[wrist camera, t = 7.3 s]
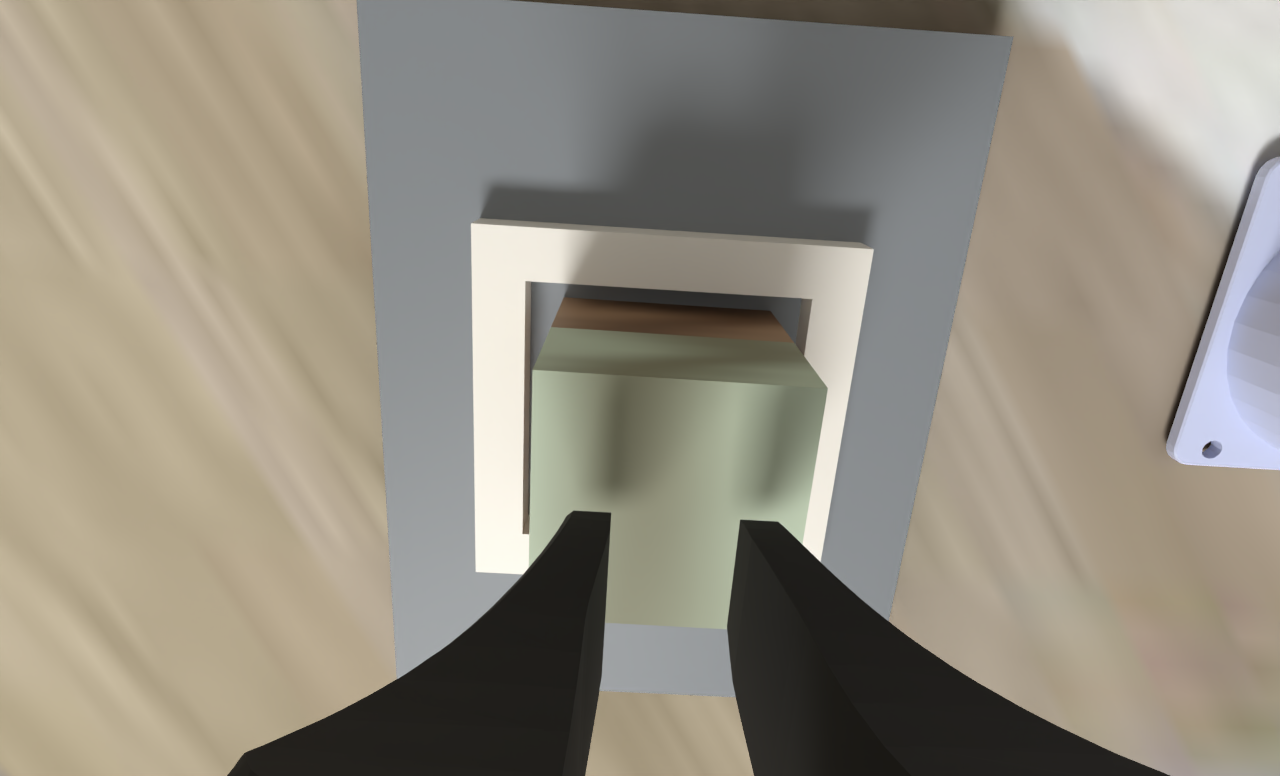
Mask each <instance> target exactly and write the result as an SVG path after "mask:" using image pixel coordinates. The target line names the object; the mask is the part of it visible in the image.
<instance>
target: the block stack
mask: <svg viewBox="0 0 1280 776" xmlns="http://www.w3.org/2000/svg"><path fill="white" fill-rule="evenodd" d="M827 391H828V388H827V386H826V385H825V384H824V382H823V381H822V380H821V378H820V377H819V376H818V374H817V373H816V372H815V370H814V369H813V368H812V366H811V365H810V363H809V362H808V361H807V359H806V358H805V357H804V355H803V354H802V353H801V351H800V350H799V349H798V347H797V346H796V345H795V343H794V342H793V341H792V339H791V338H790V336H789V335H788V334H787V332H786V331H785V330H784V328H783V327H782V326H781V324H780V323H779V322H778V320H777V319H776V318H775V316H774V315H773V314H772V312H771V311H766V310H751V309H735V308H720V307H705V306H690V305H674V304H659V303H644V302H629V301H614V300H598V299H583V298H568V297H564V298H563V300H562V303H561V305H560V307H559V310H558V312H557V314H556V316H555V319H554V321H553V323H552V326H551V328H550V330H549V333H548V335H547V337H546V340H545V342H544V344H543V347H542V349H541V351H540V354H539V356H538V358H537V361H536V363H535V365H534V368H533V371H532V423H531V474H530V525H529V567H530V566H531V564H532V563H533V562H534V561H535V560H536V558H537V557H538V556H539V555H540V554H541V552H542V551H543V550H544V549H545V547H546V546H547V544H548V543H549V542H550V540H551V539H552V538H553V536H554V535H555V534H556V532H557V531H558V529H559V528H560V526H561V524H562V523H563V521H564V519H565V517H566V516H567V515H568V514H570V513H571V512H572V511H573V510H574V511H592V512H611V527H610V545H609V562H608V579H607V597H606V614H605V623H618V624H637V625H656V626H674V627H693V628H712V629H727V621H728V613H729V605H730V597H731V589H732V581H733V573H734V565H735V557H736V549H737V541H738V533H739V525H740V520H759V521H777V522H779V523H780V524H781V525H783V526H784V527H785V528H786V529H787V530H788V531H789V532H790V533H791V534H792V535H793V536H794V537H795V538H796V539H797V540H798V541H799V542H800V543H801V544H803V538H804V532H805V525H806V519H807V513H808V507H809V501H810V495H811V489H812V483H813V477H814V471H815V464H816V458H817V452H818V446H819V440H820V434H821V428H822V422H823V416H824V410H825V404H826V397H827Z"/></svg>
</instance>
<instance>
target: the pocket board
mask: <svg viewBox="0 0 1280 776" xmlns="http://www.w3.org/2000/svg"><path fill="white" fill-rule="evenodd" d="M357 14H358V31H359V47H360V64H361V81H362V98H363V115H364V132H365V149H366V166H367V183H368V200H369V217H370V233H371V250H372V267H373V284H374V301H375V318H376V335H377V352H378V369H379V386H380V403H381V419H382V436H383V453H384V470H385V487H386V504H387V521H388V538H389V555H390V572H391V589H392V605H393V622H394V639H395V656H396V673H397V679H398V678H400V677H402V676H403V675H405V674H406V673H408V672H409V671H411V670H412V669H414V668H415V667H417V666H418V665H420V664H421V663H423V662H424V661H425V660H427V659H428V658H430V657H431V656H433V655H434V654H436V653H437V652H439V651H440V650H441V649H443V648H444V647H446V646H447V645H448V644H450V643H451V642H452V641H453V640H455V639H456V638H457V637H458V636H459V635H461V634H462V633H463V632H464V631H466V630H467V629H468V628H469V627H470V626H471V625H473V624H474V623H475V622H476V621H477V620H478V619H479V618H481V617H482V616H483V615H484V614H485V613H486V612H487V611H488V610H489V609H490V608H491V607H492V606H493V605H494V604H495V603H496V602H497V601H498V600H499V599H500V598H501V597H502V596H503V595H504V594H505V593H506V592H507V591H508V590H509V589H510V588H511V587H512V586H513V585H514V584H515V583H516V582H517V581H518V580H519V578H520V577H521V576H522V575H523V574H524V573H525V572H526V570H527V569H528V568H529V525H530V474H531V423H532V371H533V368H534V365H535V363H536V361H537V358H538V356H539V354H540V351H541V349H542V347H543V344H544V342H545V340H546V337H547V335H548V333H549V330H550V328H551V326H552V323H553V321H554V319H555V316H556V314H557V312H558V310H559V307H560V305H561V303H562V300H563V298H564V297H568V298H583V299H598V300H614V301H629V302H644V303H659V304H674V305H690V306H705V307H720V308H735V309H751V310H766V311H771V312H772V314H773V315H774V316H775V318H776V319H777V320H778V322H779V323H780V324H781V326H782V327H783V328H784V330H785V331H786V332H787V334H788V335H789V336H790V338H791V339H792V341H793V342H794V343H795V345H796V346H797V347H798V349H799V350H800V351H801V353H802V354H803V355H804V357H805V358H806V359H807V361H808V362H809V363H810V365H811V366H812V368H813V369H814V370H815V372H816V373H817V374H818V376H819V377H820V378H821V380H822V381H823V382H824V384H825V385H826V386H827V388H828V391H827V397H826V404H825V410H824V416H823V422H822V428H821V434H820V440H819V446H818V452H817V458H816V464H815V471H814V477H813V483H812V489H811V495H810V501H809V507H808V513H807V519H806V525H805V532H804V538H803V544H802V545H803V546H804V547H806V548H807V549H808V550H809V551H810V552H811V553H812V554H813V555H814V556H815V557H816V558H817V559H818V560H819V561H820V562H821V563H822V564H823V565H824V566H825V567H826V568H827V569H828V570H829V571H831V572H832V573H833V574H834V575H835V576H836V577H837V578H838V579H839V580H840V581H841V582H842V583H844V584H845V585H846V586H847V587H848V588H849V589H850V590H851V591H852V592H854V593H855V594H856V595H857V596H858V597H859V598H861V599H862V600H863V601H864V602H865V603H866V604H868V605H869V606H870V607H871V608H873V609H874V610H875V611H876V612H877V613H879V614H880V615H881V616H882V617H884V618H885V619H886V620H887V621H889V617H890V612H891V607H892V603H893V598H894V593H895V589H896V584H897V579H898V574H899V570H900V565H901V560H902V556H903V551H904V546H905V542H906V537H907V532H908V528H909V523H910V518H911V514H912V509H913V504H914V500H915V495H916V490H917V486H918V481H919V476H920V472H921V467H922V462H923V458H924V453H925V448H926V443H927V439H928V434H929V429H930V425H931V420H932V415H933V411H934V406H935V401H936V397H937V392H938V387H939V383H940V378H941V373H942V369H943V364H944V359H945V355H946V350H947V345H948V341H949V336H950V331H951V326H952V322H953V317H954V312H955V308H956V303H957V298H958V294H959V289H960V284H961V280H962V275H963V270H964V266H965V261H966V256H967V252H968V247H969V242H970V238H971V233H972V228H973V224H974V219H975V214H976V209H977V205H978V200H979V195H980V191H981V186H982V181H983V177H984V172H985V167H986V163H987V158H988V153H989V149H990V144H991V139H992V135H993V130H994V125H995V121H996V116H997V111H998V107H999V102H1000V97H1001V92H1002V88H1003V83H1004V78H1005V74H1006V69H1007V64H1008V60H1009V55H1010V50H1011V46H1012V41H1013V37H1009V36H995V35H982V34H968V33H954V32H940V31H926V30H913V29H899V28H885V27H871V26H857V25H843V24H830V23H816V22H802V21H788V20H774V19H760V18H747V17H733V16H719V15H705V14H691V13H678V12H664V11H650V10H636V9H622V8H608V7H595V6H581V5H567V4H553V3H539V2H525V1H512V0H357ZM599 691H616V692H637V693H658V694H679V695H700V696H721V697H736V696H735V691H734V687H733V681H732V672H731V663H730V654H729V643H728V633H727V629H712V628H693V627H674V626H656V625H637V624H618V623H605V631H604V647H603V663H602V678H601V684H600V690H599Z"/></svg>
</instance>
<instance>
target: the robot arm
mask: <svg viewBox="0 0 1280 776" xmlns="http://www.w3.org/2000/svg"><path fill="white" fill-rule="evenodd" d="M1210 441H1211V445H1210V446H1209V448H1208V449H1207V450H1205V451H1204V452H1202V449H1203V447H1204V446H1205V444H1207V443H1208V442H1210ZM1166 450H1167V453H1168V455H1169V456H1171V457H1172V458H1173V459H1175V460H1176V461H1178V462H1179V463H1182V464H1186V465H1201V466H1218V467H1236V468H1254V469H1271V470H1280V157H1274V158H1273V159H1271V160H1269V161H1267V162H1266V163H1265V164H1264V165H1263V166H1262V167H1261V168H1260V169H1259V171H1258V173H1257V175H1256V177H1255V180H1254V183H1253V186H1252V189H1251V192H1250V195H1249V198H1248V201H1247V204H1246V207H1245V210H1244V213H1243V216H1242V219H1241V222H1240V225H1239V228H1238V231H1237V234H1236V237H1235V240H1234V243H1233V246H1232V249H1231V252H1230V255H1229V258H1228V261H1227V264H1226V267H1225V270H1224V273H1223V276H1222V279H1221V282H1220V285H1219V288H1218V291H1217V294H1216V297H1215V300H1214V303H1213V305H1212V308H1211V311H1210V314H1209V317H1208V320H1207V323H1206V326H1205V329H1204V332H1203V335H1202V338H1201V341H1200V344H1199V347H1198V350H1197V353H1196V356H1195V359H1194V362H1193V365H1192V368H1191V371H1190V374H1189V377H1188V380H1187V383H1186V386H1185V389H1184V392H1183V395H1182V398H1181V401H1180V404H1179V407H1178V410H1177V413H1176V416H1175V419H1174V422H1173V425H1172V428H1171V431H1170V434H1169V437H1168V440H1167V445H1166ZM610 527H611V512H592V511H574V510H573V511H572V512H571V513H570V514H568V515H567V516H566V517H565V519H564V521H563V523H562V524H561V526H560V528H559V529H558V531H557V532H556V534H555V535H554V536H553V538H552V539H551V540H550V542H549V543H548V544H547V546H546V547H545V549H544V550H543V551H542V552H541V554H540V555H539V556H538V557H537V558H536V560H535V561H534V562H533V563H532V564H531V566H530V567H529V568H528V569H527V570H526V572H525V573H524V574H523V575H522V576H521V577H520V578H519V580H518V581H517V582H516V583H515V584H514V585H513V586H512V587H511V588H510V589H509V590H508V591H507V592H506V593H505V594H504V595H503V596H502V597H501V598H500V599H499V600H498V601H497V602H496V603H495V604H494V605H493V606H492V607H491V608H490V609H489V610H488V611H487V612H486V613H485V614H484V615H483V616H482V617H481V618H479V619H478V620H477V621H476V622H475V623H474V624H473V625H471V626H470V627H469V628H468V629H467V630H466V631H464V632H463V633H462V634H461V635H459V636H458V637H457V638H456V639H455V640H453V641H452V642H451V643H450V644H448V645H447V646H446V647H444V648H443V649H441V650H440V651H439V652H437V653H436V654H434V655H433V656H431V657H430V658H428V659H427V660H425V661H424V662H423V663H421V664H420V665H418V666H417V667H415V668H414V669H412V670H411V671H409V672H408V673H406V674H405V675H403V676H402V677H400V678H398V679H397V680H395V681H393V682H392V683H390V684H388V685H386V686H385V687H383V688H381V689H379V690H378V691H376V692H374V693H373V694H371V695H369V696H367V697H365V698H363V699H361V700H359V701H358V702H356V703H354V704H352V705H350V706H348V707H346V708H344V709H343V710H340V711H338V712H336V713H334V714H332V715H330V716H328V717H326V718H324V719H322V720H320V721H318V722H315V723H313V724H311V725H309V726H306V727H304V728H302V729H299V730H297V731H295V732H293V733H290V734H288V735H286V736H284V737H281V738H279V739H277V740H275V741H272V742H270V743H268V744H265V745H263V746H261V747H258V748H256V749H253V750H251V751H248V752H246V753H244V754H243V755H242V757H241V758H240V760H239V761H238V762H237V764H236V765H235V767H234V768H233V769H232V770H231V772H230V773H229V774H228V775H227V776H585V772H586V767H587V761H588V755H589V749H590V743H591V737H592V731H593V725H594V720H595V714H596V708H597V702H598V696H599V690H600V684H601V678H602V663H603V647H604V631H605V614H606V597H607V579H608V562H609V545H610ZM727 633H728V643H729V654H730V663H731V672H732V681H733V687H734V691H735V696H736V700H737V704H738V709H739V713H740V717H741V722H742V726H743V730H744V735H745V739H746V743H747V747H748V751H749V756H750V760H751V764H752V768H753V773H754V776H1170V775H1167V774H1165V773H1162V772H1160V771H1157V770H1155V769H1152V768H1150V767H1147V766H1145V765H1142V764H1140V763H1137V762H1135V761H1132V760H1130V759H1128V758H1125V757H1123V756H1120V755H1118V754H1116V753H1113V752H1111V751H1109V750H1107V749H1105V748H1102V747H1100V746H1098V745H1096V744H1094V743H1092V742H1090V741H1088V740H1086V739H1083V738H1081V737H1079V736H1077V735H1075V734H1073V733H1071V732H1069V731H1067V730H1064V729H1062V728H1060V727H1058V726H1056V725H1054V724H1052V723H1050V722H1048V721H1046V720H1044V719H1042V718H1040V717H1039V716H1037V715H1035V714H1033V713H1031V712H1029V711H1027V710H1025V709H1023V708H1021V707H1019V706H1018V705H1016V704H1014V703H1012V702H1011V701H1009V700H1007V699H1005V698H1004V697H1002V696H1000V695H998V694H997V693H995V692H993V691H991V690H990V689H988V688H986V687H984V686H983V685H981V684H979V683H977V682H976V681H974V680H972V679H971V678H969V677H968V676H966V675H964V674H963V673H961V672H960V671H958V670H956V669H955V668H953V667H952V666H950V665H949V664H947V663H946V662H944V661H943V660H941V659H940V658H938V657H937V656H935V655H934V654H933V653H931V652H930V651H928V650H927V649H925V648H924V647H922V646H921V645H919V644H918V643H916V642H915V641H914V640H912V639H911V638H910V637H908V636H907V635H905V634H904V633H903V632H901V631H900V630H899V629H897V628H896V627H895V626H894V625H892V624H891V623H890V622H889V621H887V620H886V619H885V618H884V617H882V616H881V615H880V614H879V613H877V612H876V611H875V610H874V609H873V608H871V607H870V606H869V605H868V604H866V603H865V602H864V601H863V600H862V599H861V598H859V597H858V596H857V595H856V594H855V593H854V592H852V591H851V590H850V589H849V588H848V587H847V586H846V585H845V584H844V583H842V582H841V581H840V580H839V579H838V578H837V577H836V576H835V575H834V574H833V573H832V572H831V571H829V570H828V569H827V568H826V567H825V566H824V565H823V564H822V563H821V562H820V561H819V560H818V559H817V558H816V557H815V556H814V555H813V554H812V553H811V552H810V551H809V550H808V549H807V548H806V547H804V546H803V545H802V544H801V543H800V542H799V541H798V540H797V539H796V538H795V537H794V536H793V535H792V534H791V533H790V532H789V531H788V530H787V529H786V528H785V527H784V526H783V525H781V524H780V523H779V522H777V521H759V520H740V525H739V533H738V541H737V549H736V557H735V565H734V573H733V581H732V589H731V597H730V605H729V613H728V621H727Z"/></svg>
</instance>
